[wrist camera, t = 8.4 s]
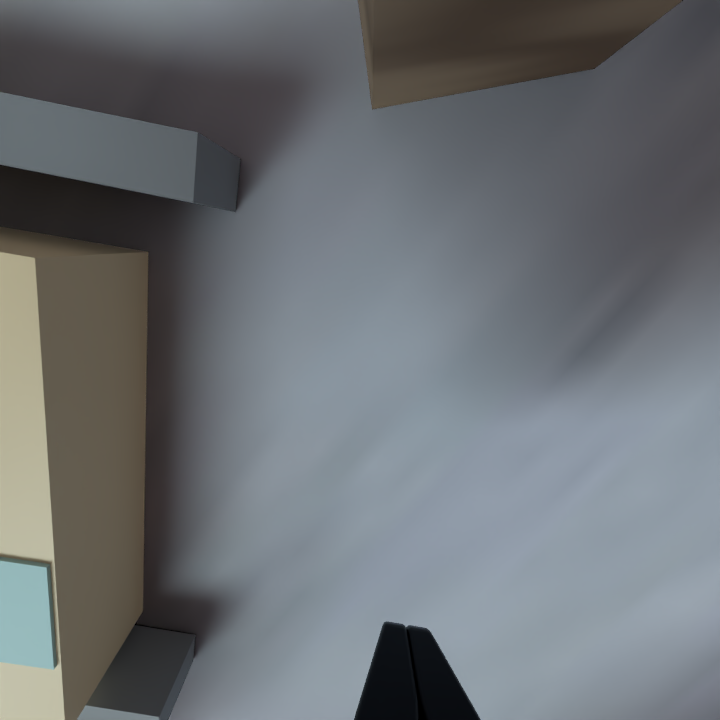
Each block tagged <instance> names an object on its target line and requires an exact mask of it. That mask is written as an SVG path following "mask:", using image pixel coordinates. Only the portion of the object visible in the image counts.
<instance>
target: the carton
mask: <svg viewBox="0 0 720 720" xmlns="http://www.w3.org/2000/svg"><path fill="white" fill-rule="evenodd" d="M147 310H148V252H147V251H141V250H135V249H129V248H123V247H117V246H112V245H106V244H100V243H94V242H88V241H82V240H77V239H71V238H65V237H59V236H53V235H47V234H42V233H36V232H30V231H24V230H18V229H12V228H6V227H1V226H0V720H77V718H78V717H79V715H80V714H81V712H82V710H83V709H84V707H85V705H86V704H87V702H88V700H89V699H90V697H91V695H92V694H93V692H94V691H95V689H96V687H97V686H98V684H99V682H100V681H101V679H102V677H103V676H104V674H105V673H106V671H107V669H108V668H109V666H110V664H111V663H112V661H113V659H114V658H115V656H116V654H117V653H118V651H119V650H120V648H121V646H122V645H123V643H124V641H125V640H126V638H127V636H128V635H129V633H130V631H131V630H132V628H133V627H134V625H135V623H136V622H137V620H138V618H139V617H140V615H141V613H142V612H143V575H144V509H145V442H146V376H147Z"/></svg>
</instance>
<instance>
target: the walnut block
mask: <svg viewBox="0 0 720 720" xmlns="http://www.w3.org/2000/svg"><path fill="white" fill-rule="evenodd" d="M682 1H683V0H358V4H359V11H360V19H361V27H362V35H363V42H364V50H365V58H366V65H367V73H368V81H369V89H370V96H371V104H372V109H377V108H383V107H388V106H394V105H399V104H404V103H410V102H415V101H421V100H426V99H432V98H437V97H443V96H448V95H454V94H459V93H464V92H470V91H475V90H481V89H486V88H492V87H497V86H503V85H508V84H514V83H519V82H524V81H530V80H535V79H541V78H546V77H552V76H557V75H563V74H568V73H574V72H579V71H584V70H590V69H595V68H596V67H597V66H599V65H600V64H601V63H602V62H604V61H605V60H606V59H608V58H609V57H610V56H612V55H613V54H614V53H615V52H617V51H618V50H619V49H621V48H622V47H623V46H625V45H626V44H627V43H628V42H630V41H631V40H632V39H634V38H635V37H636V36H638V35H639V34H640V33H641V32H643V31H644V30H645V29H647V28H648V27H649V26H651V25H652V24H653V23H654V22H656V21H657V20H658V19H660V18H661V17H662V16H664V15H665V14H666V13H667V12H669V11H670V10H671V9H673V8H674V7H675V6H677V5H678V4H679V3H680V2H682Z"/></svg>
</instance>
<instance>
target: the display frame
mask: <svg viewBox="0 0 720 720" xmlns="http://www.w3.org/2000/svg"><path fill="white" fill-rule="evenodd" d="M240 160H241V159H239V158H238V157H236V156H235V155H233V154H231V153H230V152H228V151H227V150H225V149H224V148H222V147H220V146H219V145H217V144H216V143H214V142H212V141H211V140H209V139H208V138H206V137H204V136H203V135H201V134H200V133H198V132H194V131H189V130H184V129H179V128H175V127H170V126H165V125H160V124H155V123H150V122H145V121H140V120H135V119H130V118H126V117H121V116H116V115H111V114H106V113H101V112H96V111H91V110H86V109H81V108H77V107H72V106H67V105H62V104H57V103H52V102H47V101H42V100H37V99H33V98H28V97H23V96H18V95H13V94H8V93H3V92H0V165H3V166H8V167H13V168H18V169H23V170H28V171H33V172H38V173H43V174H48V175H53V176H58V177H63V178H68V179H73V180H78V181H83V182H88V183H93V184H98V185H103V186H108V187H113V188H119V189H124V190H129V191H134V192H139V193H144V194H149V195H154V196H159V197H164V198H169V199H174V200H179V201H184V202H189V203H194V204H199V205H204V206H209V207H214V208H219V209H224V210H229V211H234V212H236V202H237V191H238V181H239V170H240ZM194 645H195V635H192V634H186V633H180V632H174V631H168V630H162V629H156V628H150V627H144V626H138V625H134V627H133V628H132V630H131V631H130V633H129V635H128V636H127V638H126V640H125V641H124V643H123V645H122V646H121V648H120V650H119V651H118V653H117V654H116V656H115V658H114V659H113V661H112V663H111V664H110V666H109V668H108V669H107V671H106V673H105V674H104V676H103V677H102V679H101V681H100V682H99V684H98V686H97V687H96V689H95V691H94V692H93V694H92V695H91V697H90V699H89V700H88V702H87V704H86V705H85V707H84V709H83V710H82V712H81V714H80V715H79V717H78V718H77V720H168V719H169V716H170V714H171V712H172V709H173V707H174V704H175V702H176V700H177V697H178V695H179V693H180V690H181V688H182V685H183V683H184V681H185V678H186V676H187V674H188V671H189V669H190V666H191V664H192V662H193V656H194Z"/></svg>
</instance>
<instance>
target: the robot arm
mask: <svg viewBox="0 0 720 720" xmlns="http://www.w3.org/2000/svg"><path fill="white" fill-rule="evenodd" d="M354 720H481V719H480V718H479V716H478V714H477V712H476V711H475V709H474V707H473V705H472V704H471V702H470V700H469V698H468V697H467V695H466V693H465V691H464V690H463V688H462V686H461V684H460V683H459V681H458V679H457V677H456V675H455V674H454V672H453V670H452V668H451V667H450V665H449V663H448V661H447V660H446V658H445V656H444V654H443V653H442V651H441V649H440V647H439V646H438V644H437V642H436V640H435V639H434V637H433V635H432V633H431V632H430V631H429V630H428V629H427V628H423V627H417V626H411V625H409V626H407V627H405V626H404V625H403V624H399V623H393V622H384V624H383V626H382V629H381V633H380V636H379V639H378V643H377V646H376V649H375V652H374V656H373V659H372V662H371V666H370V669H369V672H368V675H367V679H366V682H365V685H364V688H363V692H362V695H361V698H360V702H359V705H358V708H357V711H356V715H355V718H354Z"/></svg>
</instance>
